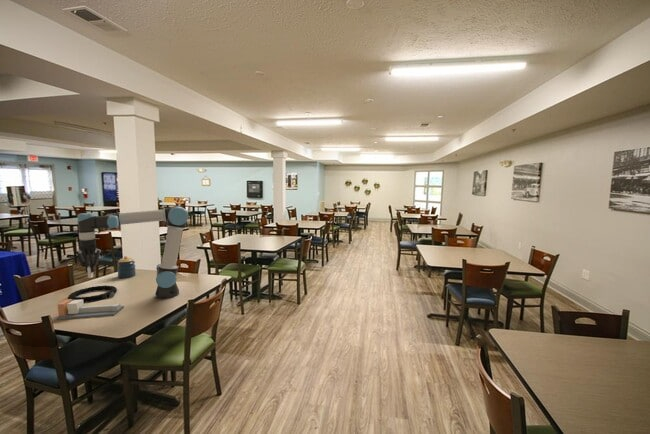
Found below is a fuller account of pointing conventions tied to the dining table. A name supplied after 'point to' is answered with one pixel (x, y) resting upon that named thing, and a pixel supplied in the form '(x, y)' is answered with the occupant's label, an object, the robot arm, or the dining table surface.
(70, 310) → the block
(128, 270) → the canister
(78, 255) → the robot arm
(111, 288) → the cable lock
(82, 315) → the rail board
